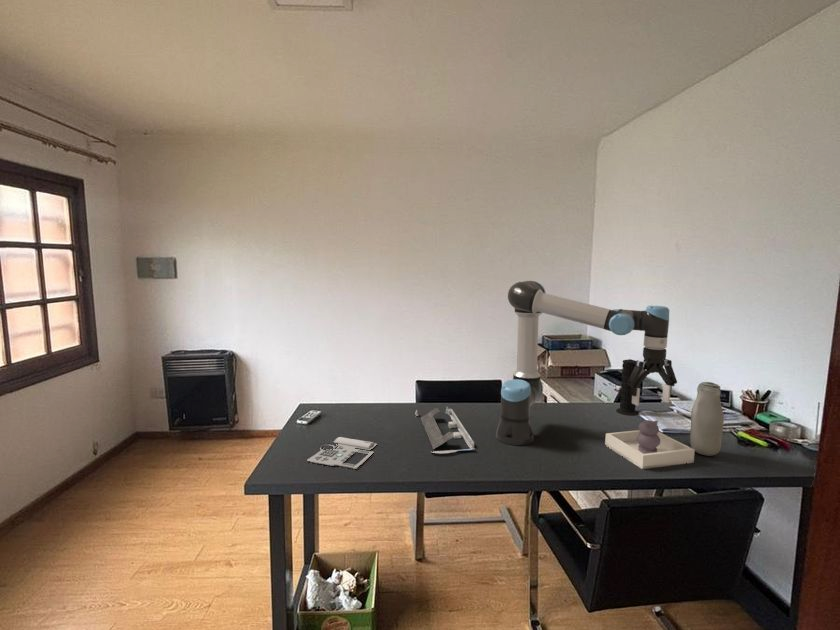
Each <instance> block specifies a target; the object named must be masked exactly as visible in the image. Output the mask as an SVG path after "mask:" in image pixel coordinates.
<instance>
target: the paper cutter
mask: <svg viewBox="0 0 840 630" xmlns="http://www.w3.org/2000/svg"><path fill="white" fill-rule="evenodd" d="M440 412H441V411H440V410H439V408H438V407H436V408H434V409H432V410H431V411H429V412H427V413H425V414H424V415H422V416H421V417H420V420H421V422H422V425H423V428H424V430H425V433H426V435H427V437H428V439H429V442H430V444H431V446H432V449H433V452H432V451H431V453H433V454H450V453H451V454H452V453H456V452H458V451H459V452H460V451H461V449H450V450H437V451H436V450H435V449H436V448H438V447H440V446H442V445H443V444H445V443H446V442H448V441H449V440H452V439H453V438H454V439H455V440H456V439H462V438H463V440H464V441H465V443H466V445H467V446H468V448H466V449H462V451H473V450H474V451H475V450H476V448H475V441H474V440H473V439H472V437H471V436H470V433H469V432H468V431H467V430H466V428H465V426H464V425H463V423H462V422H461V421H460V419H459V417H458V416H457V414H456V413H455V412H454V410H453V408H449V407H448V406H446V409H445V414H446V415H448V416H449V417H450V419H451V420H452V421H448V422H447V425H448V428H449V429H457V430H458V431H453V432H452V431H451V430H450V431H449V432H447V433H445V434H444V435H443V433H442V432H441V429H440V428H439V426H438V424H437V422H436V419H435V417H434V416H436V414H438V413H440ZM414 414H415V415H416V416H418V417H419V412H418V409H416V410H415V413H414ZM416 416H415V417H416ZM434 450H435V451H434Z"/></svg>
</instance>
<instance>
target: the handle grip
mask: <svg viewBox="0 0 840 630" xmlns="http://www.w3.org/2000/svg"><path fill="white" fill-rule="evenodd" d="M636 361H637V360H635V359H630V358H629V359H623V360H622V364H621V365H622V366H621V367H622V370H621V383H620V387H621V388H620V398H619V399H620V400H619V401H620V403H619V407H618V408H616V410H615V412H617V413H618V414H620V415H622V416H624V415H625V416H630V417H631V416H638V415H639V411H637V410H636V406H637V405H635V404H632V395H631V386H629V385H627V382H628V380H629V377H630V375H631V373H632V371H633V369H634V367H635V364H636Z"/></svg>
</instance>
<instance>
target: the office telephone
mask: <svg viewBox="0 0 840 630" xmlns="http://www.w3.org/2000/svg"><path fill="white" fill-rule="evenodd" d="M333 442H334V443H338V445H337V444H336V446H334V447H333V450H332V449H330V450H329V449H326V450H324V451H323V450H322V449H321V450H319V451H318V452H316V453H315V454H314V455H312V456H311V457H309V458H308V459H306V460H307V461H310V462H314V463H319V464H325V465H330V466H334V465H338V466H343V467H349V468H353V469H357V468H358V467H359V466H360V465H362V464H363V463H364V462H365V461H366V460H367V459H368V458H369V457H370V456H371V455H372V454H373V453H374V454H375V452H374V451H373V450H374V449H375V448H376V447H377V446H378V443H376V442H373V441H366V440H361V439H354V438H348V437H343V436H339V437H337V438H335V439H334V441H333ZM376 445H377V446H376ZM337 446H338V447H337ZM375 446H376V447H375ZM336 447H337V448H336ZM374 447H375V448H374ZM335 448H336V449H335ZM355 448H359V449H355ZM373 448H374V449H373ZM360 449H365V450H360ZM371 449H373V450H371ZM366 450H371V451H366ZM355 452H358V453H363V454H362V455H364V454H368V455H365V456H364V457H363V458H362V459H360V460H359V462H357V463H356V464H353V463H349V462H348V463H347V461H348V460H349V459H350V458H351V457H350V456H351V455H353V454H354V453H355ZM358 453H357V454H358ZM355 454H356V453H355ZM355 454H354V455H355ZM374 454H373V455H374ZM354 455H353V456H354ZM373 455H372V456H373ZM372 456H371V457H372ZM349 457H350V458H349ZM371 457H370V458H371ZM348 458H349V459H348ZM370 458H369V459H370ZM347 459H348V460H347ZM369 459H368V460H369ZM346 460H347V461H346ZM368 460H367V461H368ZM345 461H346V462H345ZM367 461H366V462H367ZM343 462H345V463H343ZM366 462H365V463H366ZM365 463H364V464H365ZM364 464H363V465H364ZM363 465H362V466H363ZM360 467H361V466H360ZM360 467H359V468H360ZM359 468H358V469H359ZM358 469H357V470H358Z"/></svg>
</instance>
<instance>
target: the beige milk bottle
mask: <svg viewBox="0 0 840 630" xmlns="http://www.w3.org/2000/svg"><path fill="white" fill-rule="evenodd" d="M721 392H722V391H721V386H720V385H719V384H718V383H714V382H713V381H712V382H709V381H703V382H700V383H699V384H698V385H697V389H696V398H695V400H694V403H693V405H692V408H691V412H690V432H689V443H690V447H691V448H693V449H695V452H694V453H697V454H699V455H702V456H705V457H707V456H709V457H711V456H716V455H717V454H718V453H719V452H720V451H721V447H722V441H723V440H722V439H723V430H724V429H723V428H724V421H725V420H724V419H725V416H724V411H723V408H722V404H721V403H722V402H721V401H722V400H721V394H722V393H721Z"/></svg>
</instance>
